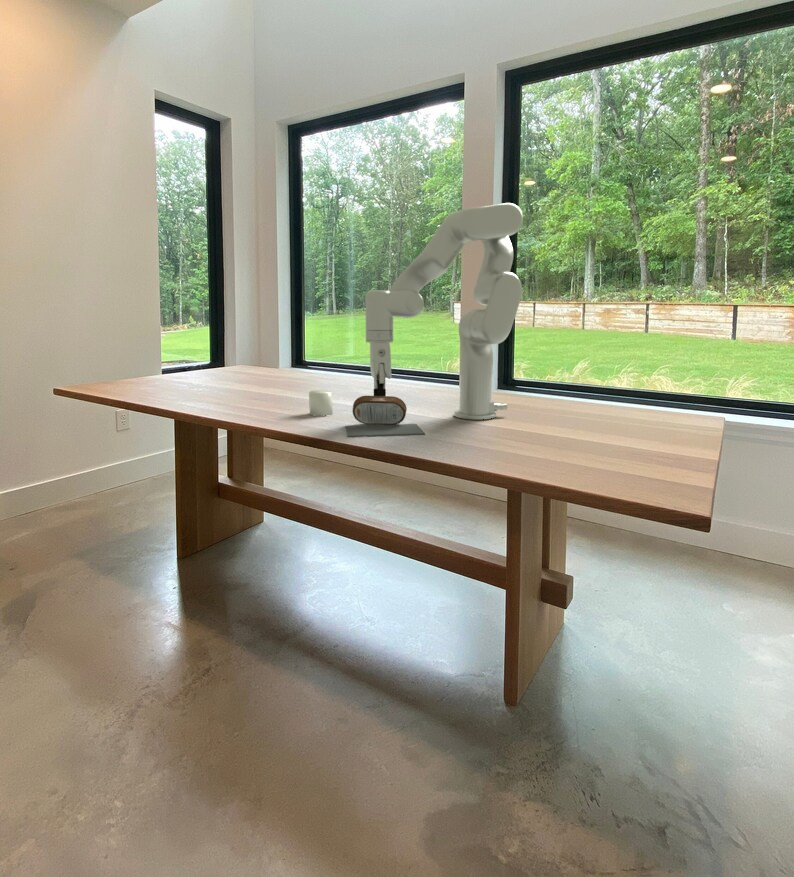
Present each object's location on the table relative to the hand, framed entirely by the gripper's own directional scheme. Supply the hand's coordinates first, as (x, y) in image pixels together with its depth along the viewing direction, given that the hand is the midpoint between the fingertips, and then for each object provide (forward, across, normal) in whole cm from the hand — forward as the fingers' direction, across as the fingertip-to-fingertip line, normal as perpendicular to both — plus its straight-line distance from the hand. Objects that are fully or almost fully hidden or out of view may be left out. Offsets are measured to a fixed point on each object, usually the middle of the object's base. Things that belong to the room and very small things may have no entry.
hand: (379, 402), depth 165 cm
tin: (+6, 0, 0) cm, 6 cm away
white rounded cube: (+6, +18, +16) cm, 25 cm away
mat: (+6, -9, 0) cm, 11 cm away
